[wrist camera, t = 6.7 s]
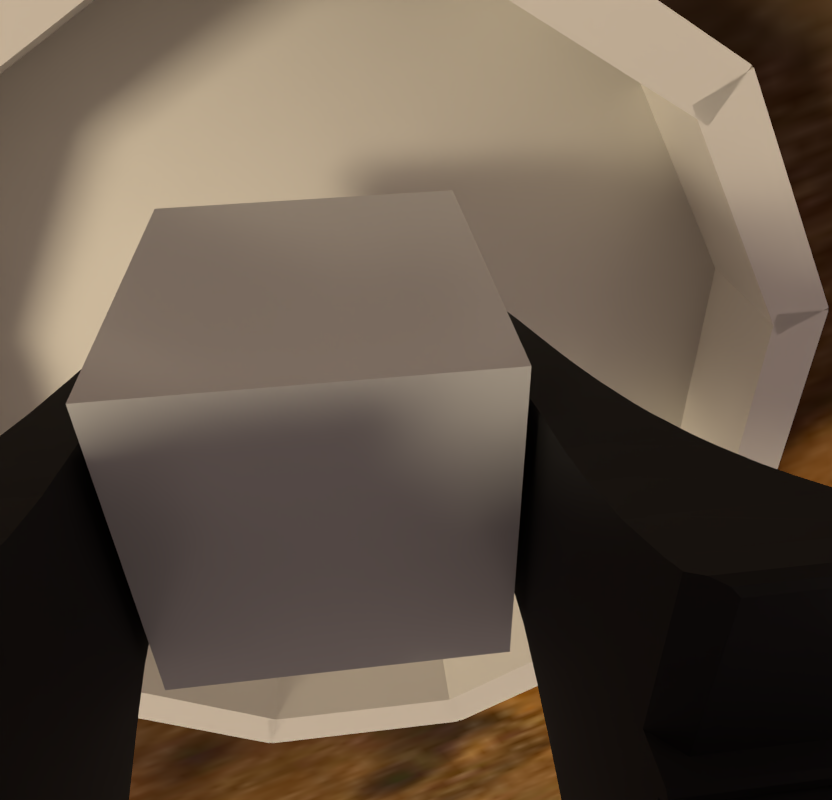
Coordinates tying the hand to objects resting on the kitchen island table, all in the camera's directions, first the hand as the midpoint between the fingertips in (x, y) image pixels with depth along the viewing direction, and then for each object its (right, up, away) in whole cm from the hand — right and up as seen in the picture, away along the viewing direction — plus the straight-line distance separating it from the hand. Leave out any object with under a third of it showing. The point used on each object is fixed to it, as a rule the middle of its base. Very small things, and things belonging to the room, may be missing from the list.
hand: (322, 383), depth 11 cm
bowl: (-1, +1, +6) cm, 6 cm away
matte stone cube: (0, +1, +1) cm, 2 cm away
